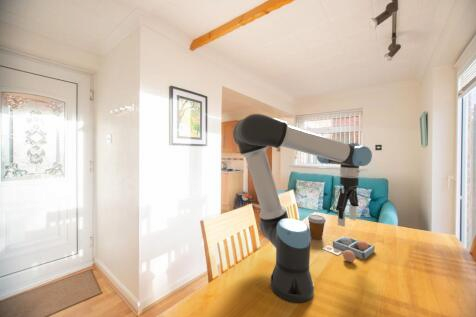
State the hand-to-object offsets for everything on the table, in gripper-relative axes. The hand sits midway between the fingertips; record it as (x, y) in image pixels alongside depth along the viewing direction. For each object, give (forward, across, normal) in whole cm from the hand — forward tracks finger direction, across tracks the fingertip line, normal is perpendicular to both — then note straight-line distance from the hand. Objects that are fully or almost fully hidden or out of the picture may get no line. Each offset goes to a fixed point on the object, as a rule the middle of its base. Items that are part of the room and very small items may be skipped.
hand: (347, 222), depth 93 cm
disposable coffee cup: (+17, +12, +20) cm, 29 cm away
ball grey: (+17, +14, +4) cm, 22 cm away
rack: (+17, +13, +1) cm, 22 cm away
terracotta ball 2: (+17, +15, -3) cm, 23 cm away
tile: (+17, +4, +7) cm, 19 cm away
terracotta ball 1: (+17, -1, -2) cm, 17 cm away
